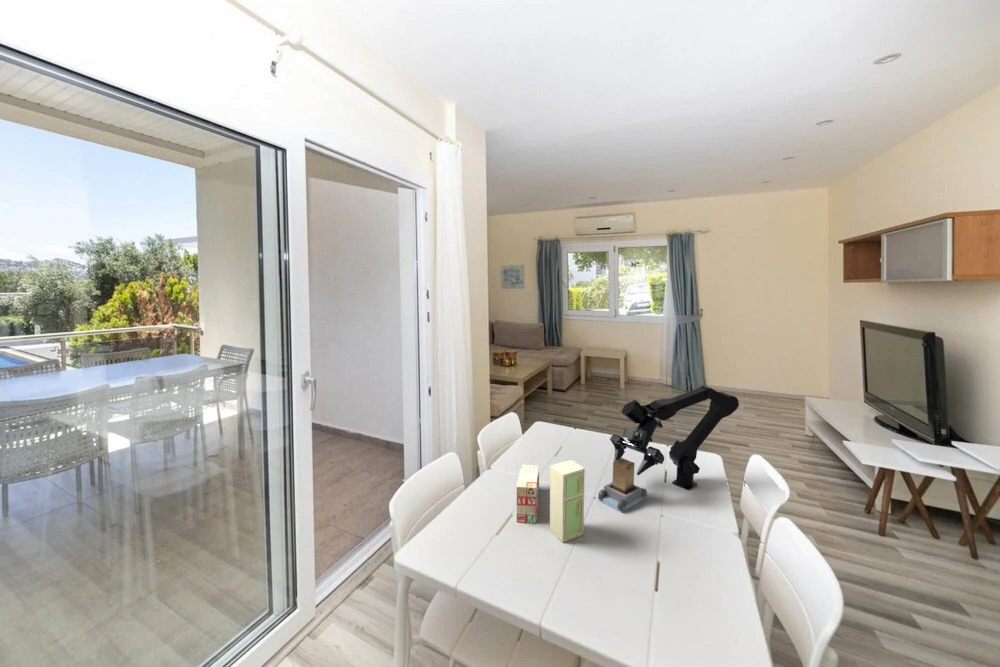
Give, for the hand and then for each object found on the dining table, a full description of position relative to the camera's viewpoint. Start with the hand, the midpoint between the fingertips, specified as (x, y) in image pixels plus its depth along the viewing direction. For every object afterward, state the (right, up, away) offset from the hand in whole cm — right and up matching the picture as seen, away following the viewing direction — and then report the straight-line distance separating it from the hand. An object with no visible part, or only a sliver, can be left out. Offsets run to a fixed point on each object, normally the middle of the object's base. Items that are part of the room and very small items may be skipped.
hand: (625, 469), depth 133 cm
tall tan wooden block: (-1, -9, 0) cm, 9 cm away
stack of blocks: (-34, -12, -2) cm, 36 cm away
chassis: (-1, -11, +1) cm, 11 cm away
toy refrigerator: (-23, -13, -18) cm, 32 cm away
